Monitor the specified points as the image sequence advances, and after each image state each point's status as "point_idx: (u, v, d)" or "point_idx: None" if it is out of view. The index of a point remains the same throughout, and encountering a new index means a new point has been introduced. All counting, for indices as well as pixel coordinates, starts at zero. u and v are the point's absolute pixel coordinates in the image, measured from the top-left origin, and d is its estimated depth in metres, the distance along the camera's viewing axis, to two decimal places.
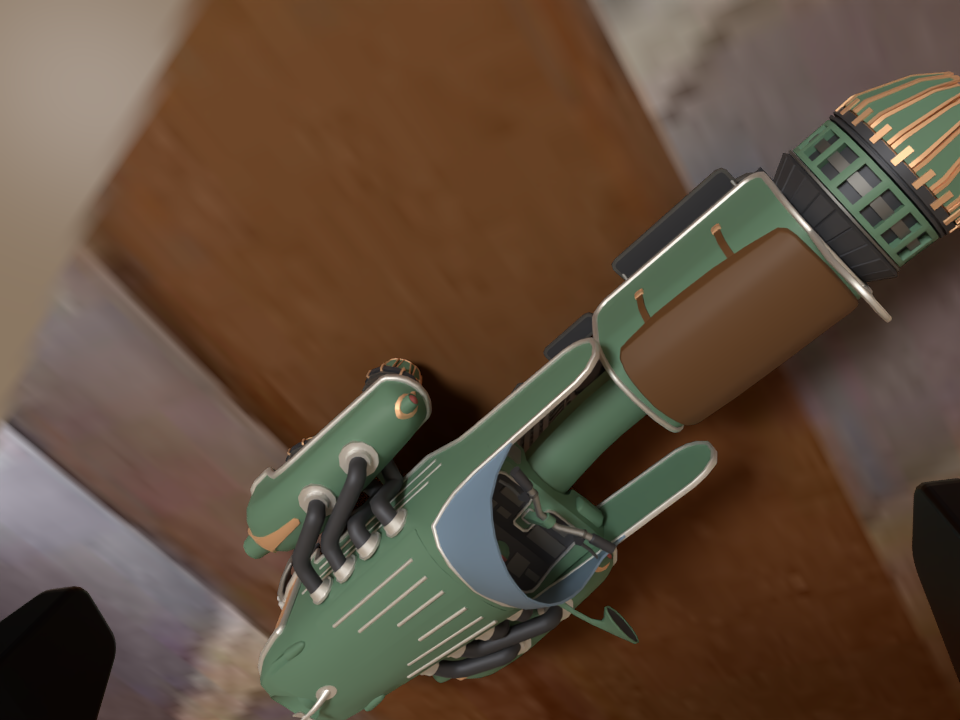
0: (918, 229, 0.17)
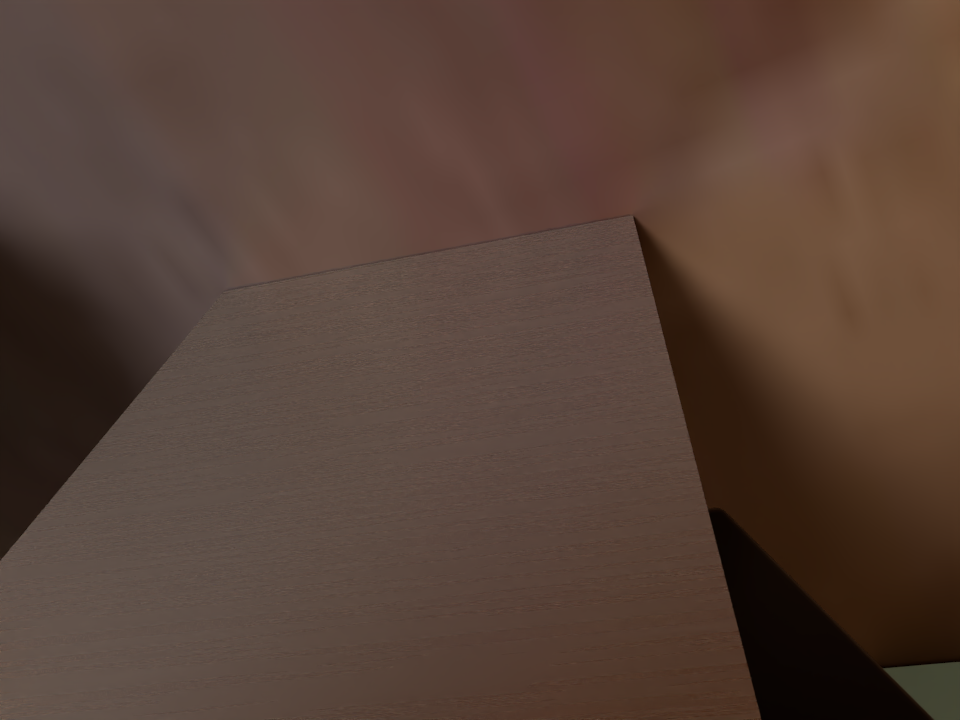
0: None
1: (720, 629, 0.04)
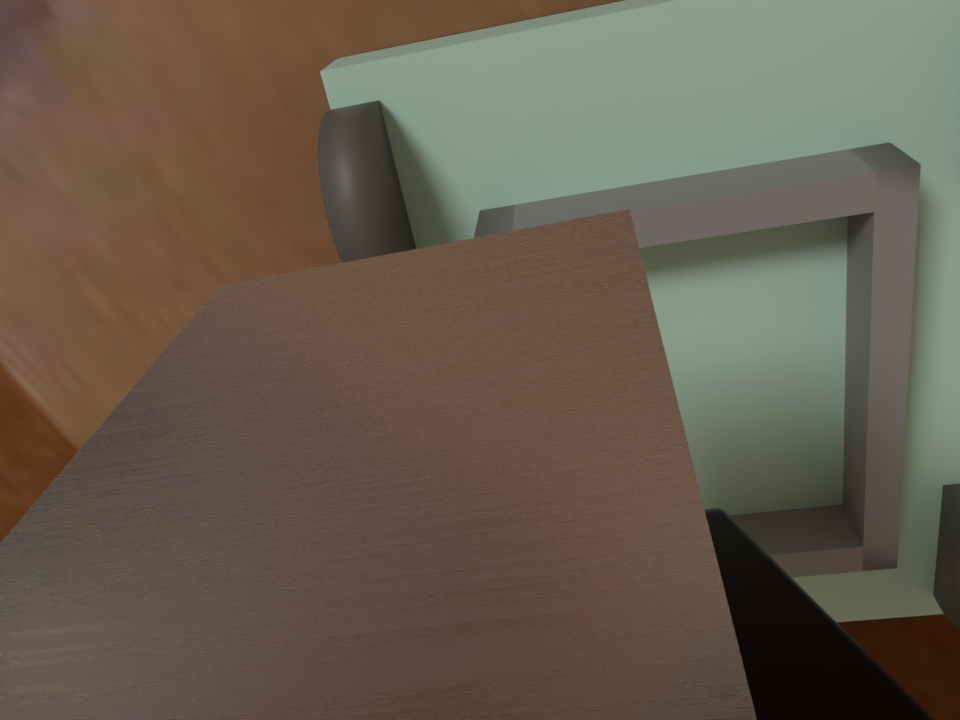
0: None
1: (713, 617, 0.04)
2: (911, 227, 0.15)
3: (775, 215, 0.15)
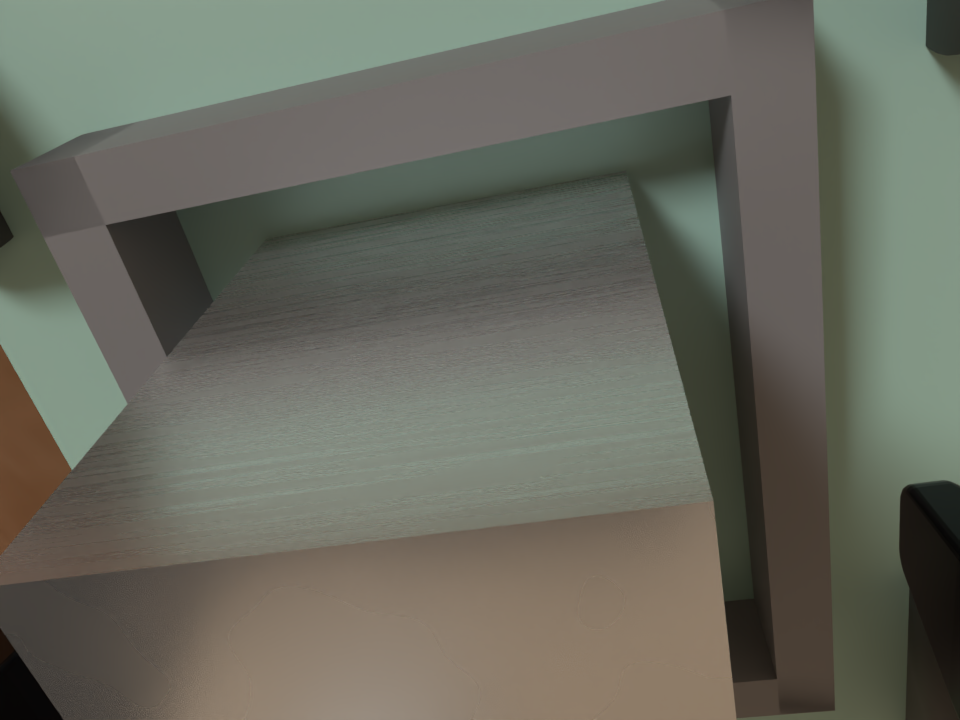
0: None
1: (683, 438, 0.05)
2: (806, 124, 0.08)
3: (544, 109, 0.08)
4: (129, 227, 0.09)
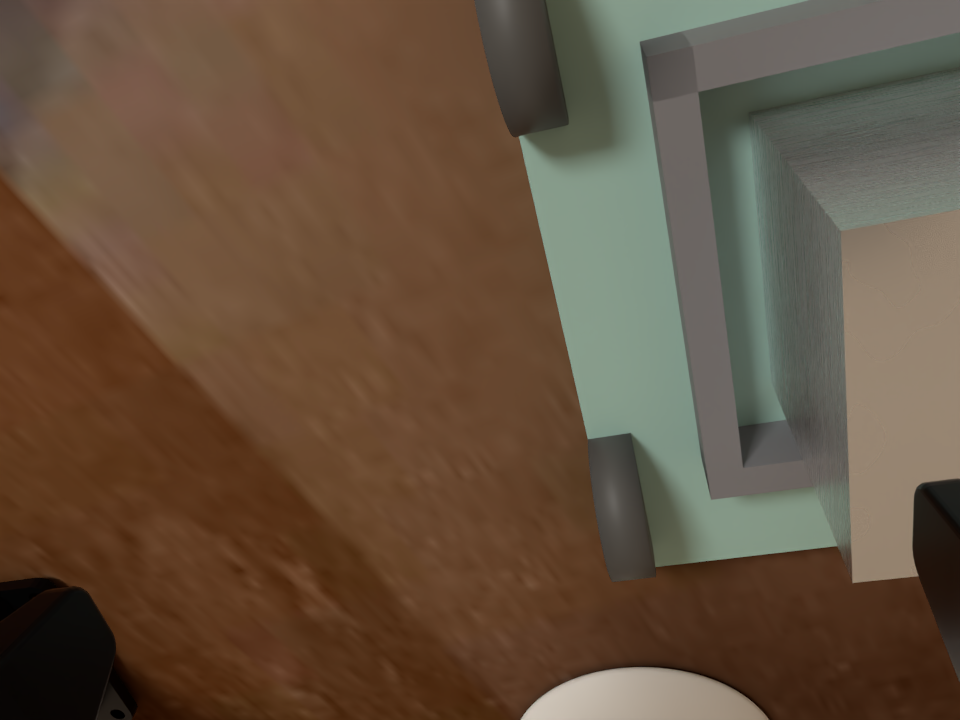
0: None
1: None
2: None
3: None
4: None
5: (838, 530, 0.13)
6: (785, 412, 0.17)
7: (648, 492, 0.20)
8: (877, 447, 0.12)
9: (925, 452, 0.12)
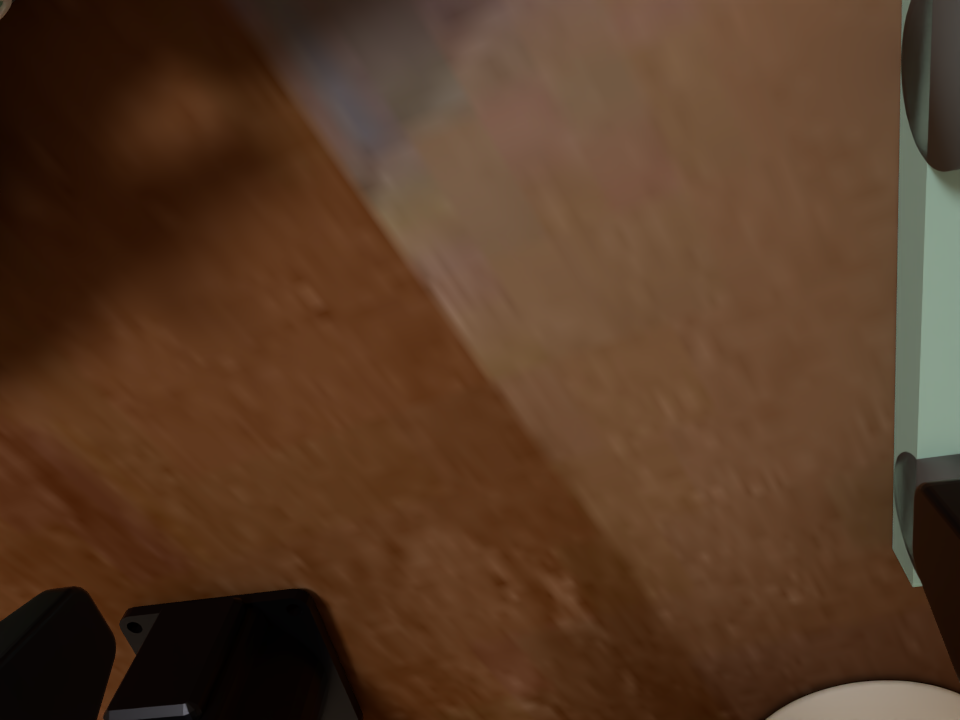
0: None
1: None
2: None
3: None
4: None
5: None
6: None
7: None
8: None
9: None
